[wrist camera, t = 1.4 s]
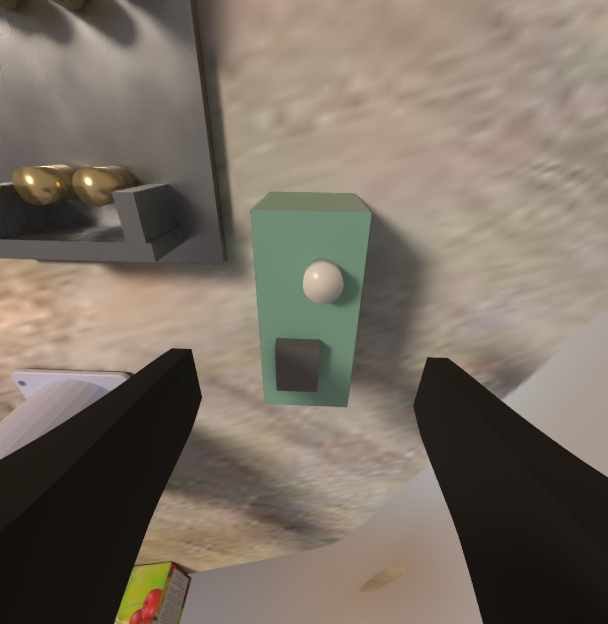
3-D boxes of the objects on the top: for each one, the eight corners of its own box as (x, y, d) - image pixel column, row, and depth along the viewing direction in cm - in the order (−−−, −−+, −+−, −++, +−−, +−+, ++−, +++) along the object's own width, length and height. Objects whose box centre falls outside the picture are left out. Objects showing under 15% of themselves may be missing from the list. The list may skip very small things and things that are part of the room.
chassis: (226, 260, 15) (205, 287, 12) (26, 255, 16) (-44, 280, 13) (171, -190, 9) (93, -377, 6) (-185, -188, 9) (-449, -367, 6)
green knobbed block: (339, 345, 18) (349, 420, 13) (276, 343, 18) (261, 417, 13) (353, 192, 14) (376, 217, 9) (270, 191, 14) (245, 215, 9)
